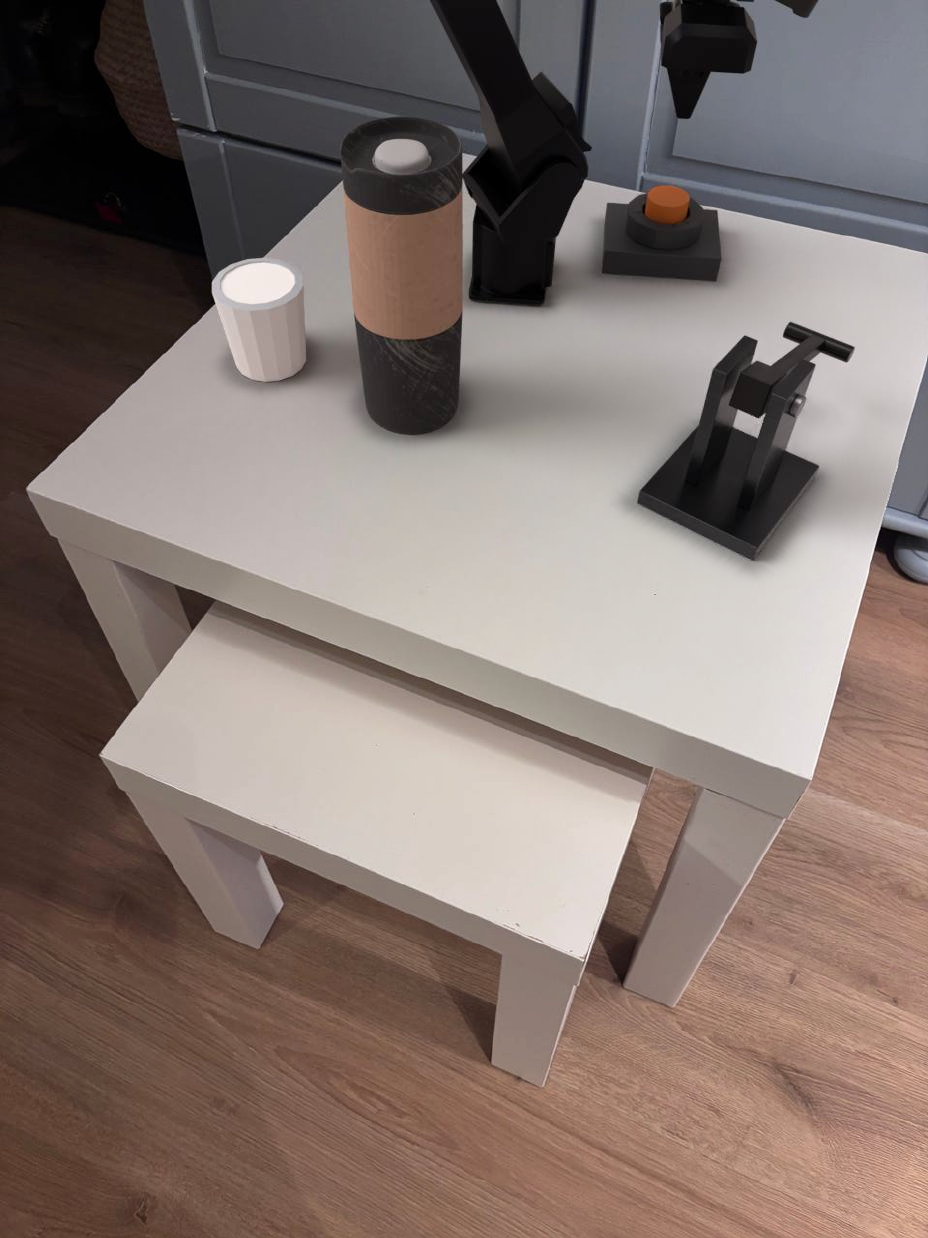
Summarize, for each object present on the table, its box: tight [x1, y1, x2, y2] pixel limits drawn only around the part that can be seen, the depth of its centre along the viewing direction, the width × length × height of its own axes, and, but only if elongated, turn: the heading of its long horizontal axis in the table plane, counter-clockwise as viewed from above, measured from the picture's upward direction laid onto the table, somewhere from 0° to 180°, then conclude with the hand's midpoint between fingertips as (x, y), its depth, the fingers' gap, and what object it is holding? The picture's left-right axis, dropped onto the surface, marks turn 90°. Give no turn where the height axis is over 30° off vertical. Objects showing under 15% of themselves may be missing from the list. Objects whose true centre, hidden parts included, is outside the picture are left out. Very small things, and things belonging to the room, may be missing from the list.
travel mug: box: [339, 115, 464, 435], centre depth 67 cm, size 8×8×20 cm
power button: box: [645, 185, 691, 224], centre depth 85 cm, size 4×4×2 cm
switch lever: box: [729, 321, 856, 419], centre depth 67 cm, size 14×5×2 cm, turn 144°
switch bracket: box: [636, 334, 820, 561], centre depth 66 cm, size 10×9×11 cm
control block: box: [601, 192, 723, 282], centre depth 87 cm, size 10×8×4 cm
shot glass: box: [211, 257, 307, 383], centre depth 76 cm, size 7×7×7 cm
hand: (683, 116), depth 79 cm, fingers closed
